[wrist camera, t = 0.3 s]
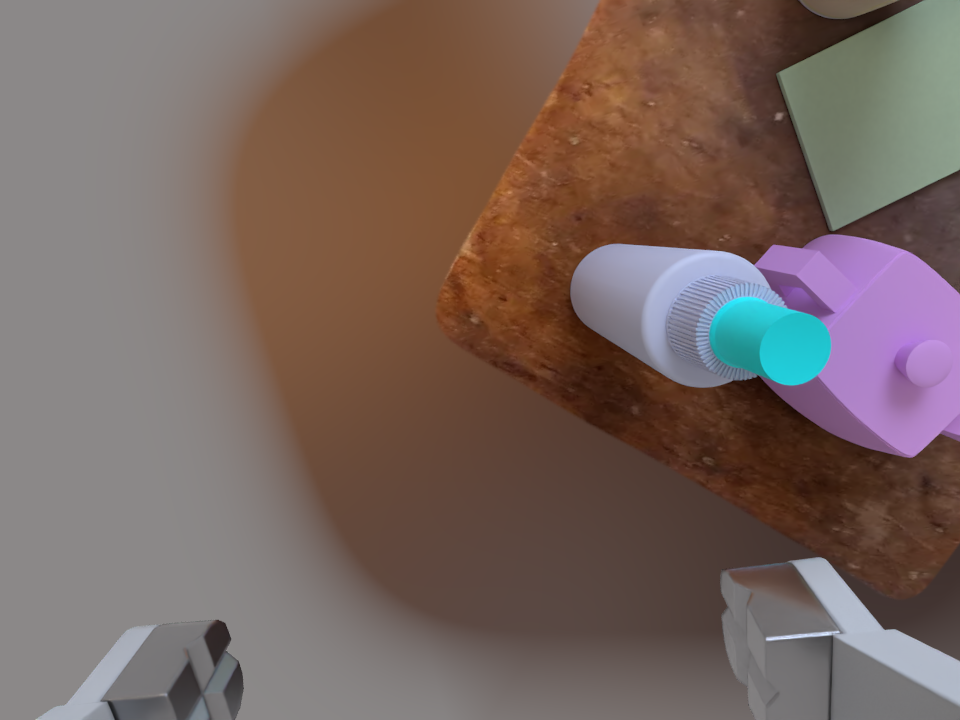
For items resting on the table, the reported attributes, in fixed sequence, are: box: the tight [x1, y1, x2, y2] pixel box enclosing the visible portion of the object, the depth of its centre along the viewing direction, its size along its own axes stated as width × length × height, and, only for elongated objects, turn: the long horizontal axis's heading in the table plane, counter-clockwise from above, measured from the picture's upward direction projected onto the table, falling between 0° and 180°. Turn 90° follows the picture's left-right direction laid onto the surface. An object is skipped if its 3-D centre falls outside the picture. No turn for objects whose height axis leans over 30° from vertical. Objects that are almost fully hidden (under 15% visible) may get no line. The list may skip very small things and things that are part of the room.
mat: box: [776, 0, 960, 231], centre depth 41 cm, size 11×18×1 cm, turn 116°
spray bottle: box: [570, 244, 831, 388], centre depth 31 cm, size 6×6×22 cm
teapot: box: [754, 234, 960, 458], centre depth 39 cm, size 18×10×10 cm, turn 50°
